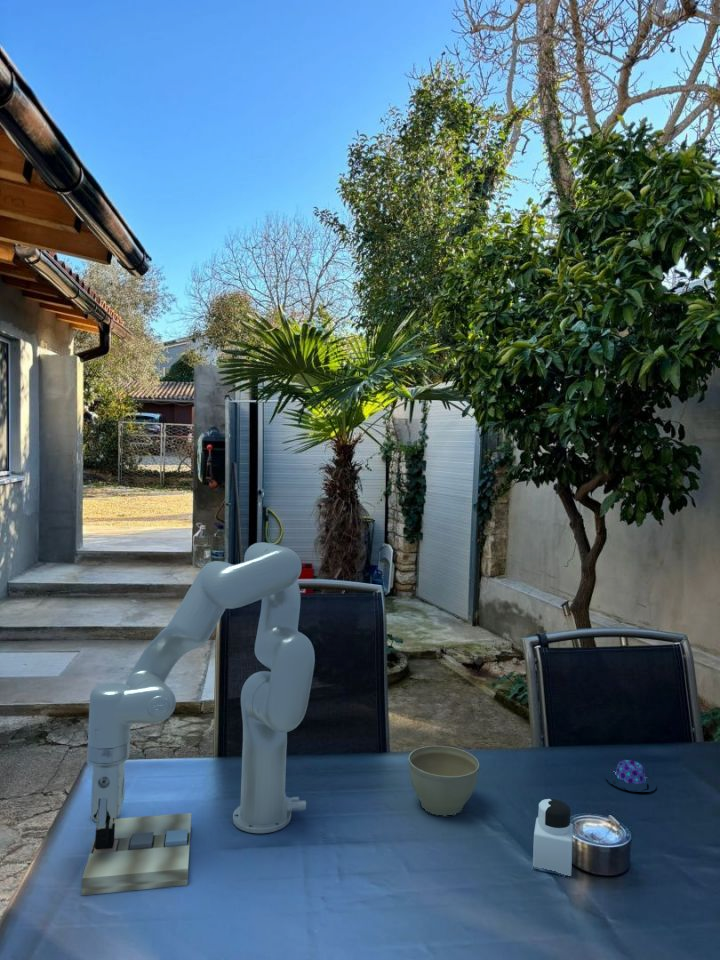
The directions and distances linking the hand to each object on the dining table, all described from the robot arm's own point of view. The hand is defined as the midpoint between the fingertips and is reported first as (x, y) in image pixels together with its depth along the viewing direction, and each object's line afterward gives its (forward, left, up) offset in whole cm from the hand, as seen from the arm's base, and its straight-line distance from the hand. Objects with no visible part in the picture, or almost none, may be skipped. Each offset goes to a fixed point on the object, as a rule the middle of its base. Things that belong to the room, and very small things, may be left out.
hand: (104, 846), depth 125 cm
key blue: (-13, 0, -1) cm, 13 cm away
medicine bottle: (-86, +15, -3) cm, 87 cm away
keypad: (-7, 0, -3) cm, 7 cm away
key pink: (0, 0, -2) cm, 2 cm away
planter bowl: (-72, -10, -3) cm, 73 cm away
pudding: (-124, -14, -3) cm, 125 cm away
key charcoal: (-7, 0, -1) cm, 7 cm away
